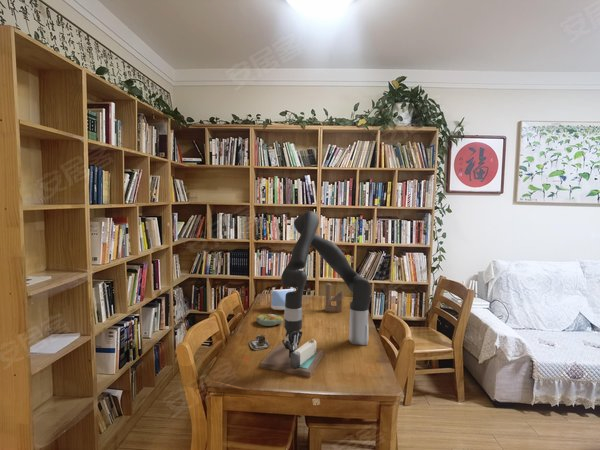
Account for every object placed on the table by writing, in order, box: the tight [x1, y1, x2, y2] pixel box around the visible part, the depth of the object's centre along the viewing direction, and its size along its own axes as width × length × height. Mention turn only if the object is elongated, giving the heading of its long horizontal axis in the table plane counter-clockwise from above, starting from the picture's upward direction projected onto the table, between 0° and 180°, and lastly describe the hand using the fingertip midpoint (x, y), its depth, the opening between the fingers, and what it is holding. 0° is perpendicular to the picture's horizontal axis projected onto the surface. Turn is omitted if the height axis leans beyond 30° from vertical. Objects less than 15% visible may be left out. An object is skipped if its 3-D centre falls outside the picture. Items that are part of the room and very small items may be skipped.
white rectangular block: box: [291, 338, 317, 368], centre depth 134 cm, size 18×4×6 cm, turn 148°
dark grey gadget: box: [249, 334, 270, 351], centre depth 153 cm, size 12×6×11 cm
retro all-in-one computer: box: [270, 288, 295, 311], centre depth 204 cm, size 21×19×14 cm
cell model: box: [256, 313, 284, 327], centre depth 179 cm, size 11×8×15 cm
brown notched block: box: [324, 282, 343, 313], centre depth 203 cm, size 4×11×18 cm, turn 81°
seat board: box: [259, 343, 324, 378], centre depth 137 cm, size 22×20×2 cm
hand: (292, 357), depth 132 cm, fingers closed
